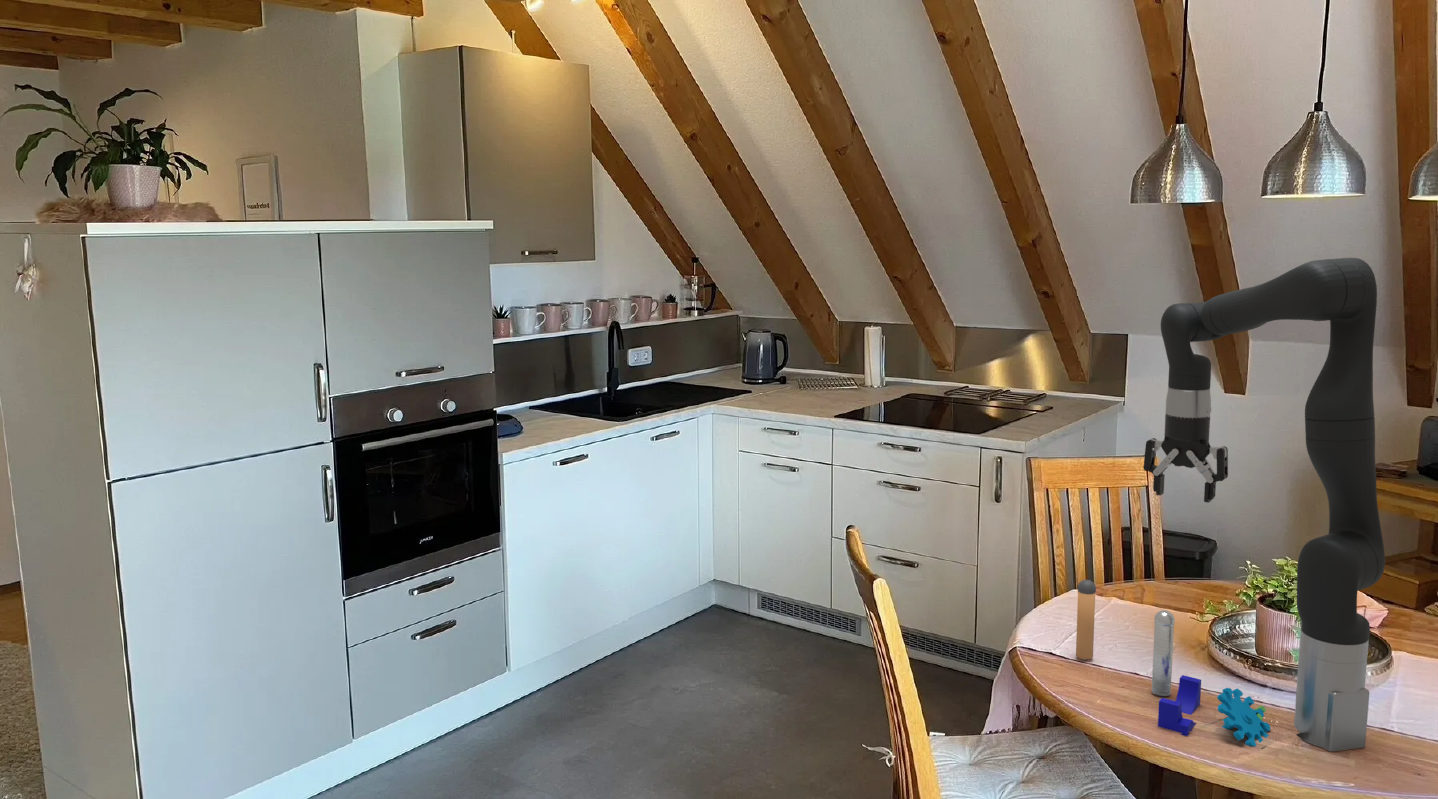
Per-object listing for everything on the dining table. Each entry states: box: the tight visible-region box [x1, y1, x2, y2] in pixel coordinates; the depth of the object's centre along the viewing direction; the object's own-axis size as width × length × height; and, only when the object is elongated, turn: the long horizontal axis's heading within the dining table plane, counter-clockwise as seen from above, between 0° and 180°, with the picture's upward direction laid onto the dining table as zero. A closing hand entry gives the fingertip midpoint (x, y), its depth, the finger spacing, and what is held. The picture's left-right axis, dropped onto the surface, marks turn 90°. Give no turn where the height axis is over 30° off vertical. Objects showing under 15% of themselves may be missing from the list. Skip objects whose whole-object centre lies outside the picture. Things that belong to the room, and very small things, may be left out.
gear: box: [1216, 687, 1271, 750], centre depth 169 cm, size 11×6×10 cm
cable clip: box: [1157, 674, 1202, 737], centre depth 173 cm, size 12×4×6 cm, turn 140°
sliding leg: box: [1075, 579, 1097, 661], centre depth 195 cm, size 3×3×15 cm
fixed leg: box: [1151, 609, 1176, 697], centre depth 180 cm, size 3×3×15 cm
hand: (1183, 498), depth 197 cm, fingers open, 8 cm apart
